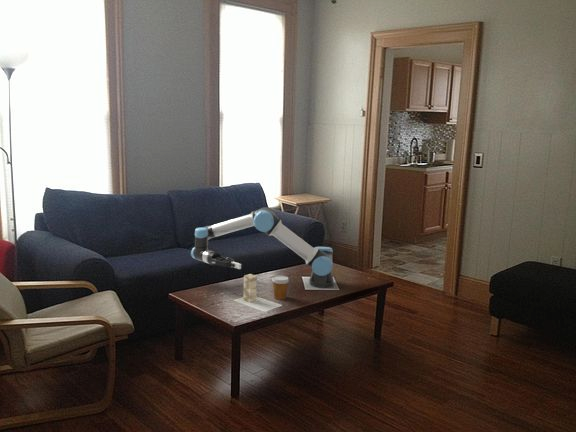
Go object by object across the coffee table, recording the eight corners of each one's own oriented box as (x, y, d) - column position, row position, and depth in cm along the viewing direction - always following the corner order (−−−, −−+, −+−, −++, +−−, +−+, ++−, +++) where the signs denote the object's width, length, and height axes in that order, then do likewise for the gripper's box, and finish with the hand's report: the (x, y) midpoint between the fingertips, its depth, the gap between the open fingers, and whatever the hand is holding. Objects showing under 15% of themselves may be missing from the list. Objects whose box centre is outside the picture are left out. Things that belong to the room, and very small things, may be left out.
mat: (232, 301, 290) (232, 300, 290) (251, 295, 300) (251, 294, 300) (264, 312, 274) (264, 311, 274) (282, 305, 285) (282, 305, 284)
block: (243, 300, 290) (243, 275, 288) (249, 298, 294) (250, 273, 291) (249, 302, 287) (250, 277, 284) (256, 300, 291) (256, 275, 288)
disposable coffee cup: (289, 301, 293) (290, 280, 290) (272, 301, 291) (273, 280, 289) (287, 295, 302) (287, 275, 300) (270, 295, 300) (270, 275, 298)
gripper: (220, 262, 313) (248, 270, 297) (203, 266, 303) (231, 275, 288) (220, 249, 311) (248, 258, 296) (203, 253, 301) (231, 262, 286)
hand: (240, 266), depth 292 cm, fingers closed
